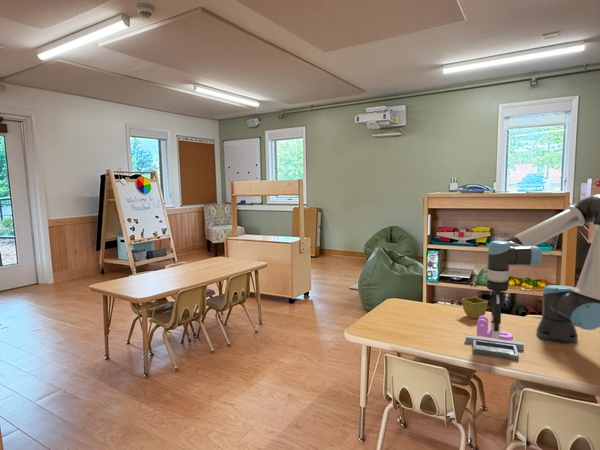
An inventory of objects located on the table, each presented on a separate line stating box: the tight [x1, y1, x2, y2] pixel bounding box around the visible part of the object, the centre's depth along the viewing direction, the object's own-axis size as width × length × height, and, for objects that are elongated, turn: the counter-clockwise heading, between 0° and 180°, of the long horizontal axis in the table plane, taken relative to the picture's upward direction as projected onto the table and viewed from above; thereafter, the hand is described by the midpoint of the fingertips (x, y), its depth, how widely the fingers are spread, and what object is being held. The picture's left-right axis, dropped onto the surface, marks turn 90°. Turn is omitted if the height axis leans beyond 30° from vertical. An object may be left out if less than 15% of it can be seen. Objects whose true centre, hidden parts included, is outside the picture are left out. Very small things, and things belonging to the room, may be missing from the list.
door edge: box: [465, 335, 525, 351], centre depth 162 cm, size 22×2×2 cm, turn 66°
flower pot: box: [461, 296, 489, 320], centre depth 194 cm, size 9×9×9 cm
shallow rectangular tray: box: [472, 340, 520, 362], centre depth 156 cm, size 16×10×2 cm, turn 67°
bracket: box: [476, 315, 514, 341], centre depth 155 cm, size 13×6×7 cm, turn 60°
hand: (494, 334), depth 155 cm, fingers closed on bracket, 6 cm apart
